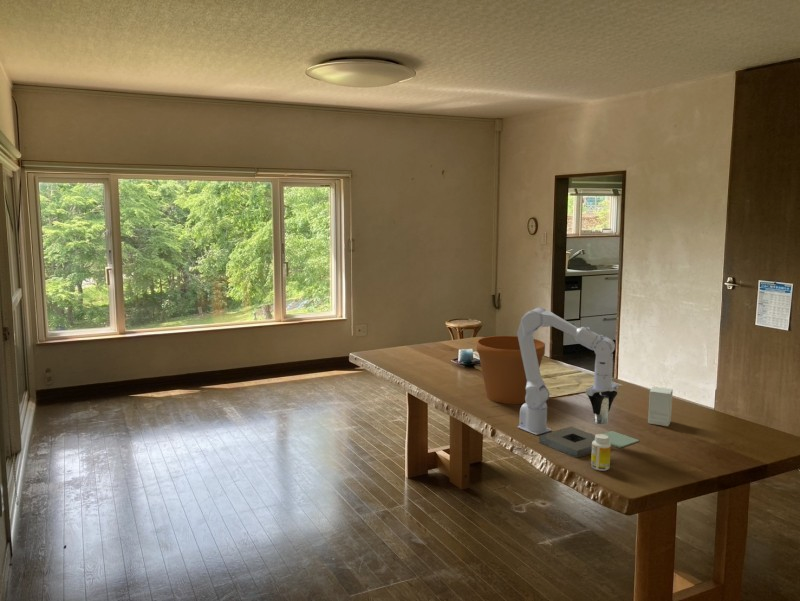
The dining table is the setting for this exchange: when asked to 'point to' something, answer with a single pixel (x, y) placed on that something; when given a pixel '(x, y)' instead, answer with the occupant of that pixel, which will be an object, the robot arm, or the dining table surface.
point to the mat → (619, 439)
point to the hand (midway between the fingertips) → (601, 412)
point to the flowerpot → (505, 368)
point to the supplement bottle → (601, 453)
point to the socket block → (569, 441)
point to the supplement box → (660, 406)
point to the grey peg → (603, 412)
